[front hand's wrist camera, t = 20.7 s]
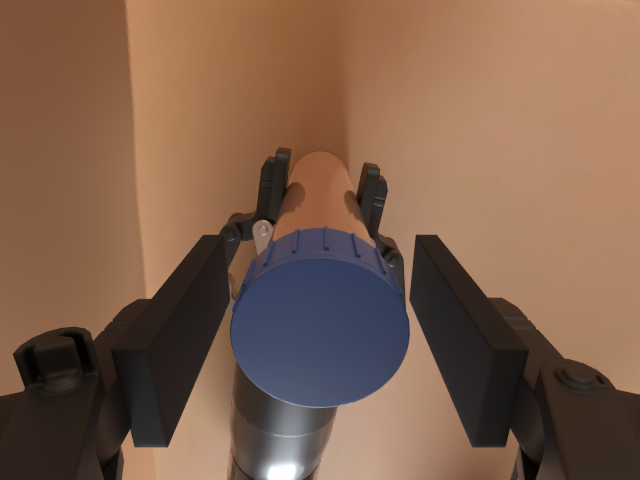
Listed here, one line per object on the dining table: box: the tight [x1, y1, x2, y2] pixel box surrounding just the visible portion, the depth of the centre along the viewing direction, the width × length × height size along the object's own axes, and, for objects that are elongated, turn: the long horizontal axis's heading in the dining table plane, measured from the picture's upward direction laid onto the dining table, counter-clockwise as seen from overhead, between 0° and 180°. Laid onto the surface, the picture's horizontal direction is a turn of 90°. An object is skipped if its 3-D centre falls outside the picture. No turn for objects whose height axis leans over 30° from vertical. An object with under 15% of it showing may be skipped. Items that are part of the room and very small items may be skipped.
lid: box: [230, 226, 410, 408], centre depth 11 cm, size 5×5×2 cm
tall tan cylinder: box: [267, 151, 373, 247], centre depth 20 cm, size 4×4×18 cm
